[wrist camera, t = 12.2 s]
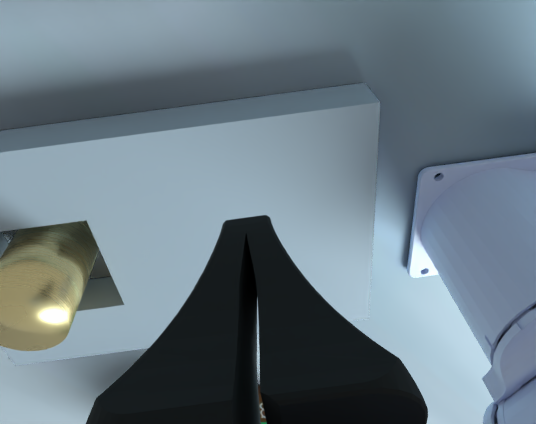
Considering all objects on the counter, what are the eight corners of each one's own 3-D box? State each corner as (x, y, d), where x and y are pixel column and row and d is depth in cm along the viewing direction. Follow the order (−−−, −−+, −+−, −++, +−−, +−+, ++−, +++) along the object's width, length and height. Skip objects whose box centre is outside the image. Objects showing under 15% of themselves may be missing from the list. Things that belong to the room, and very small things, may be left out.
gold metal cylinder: (92, 206, 23) (55, 286, 18) (107, 264, 25) (79, 348, 21) (10, 208, 23) (-49, 290, 18) (34, 266, 25) (-12, 353, 20)
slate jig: (364, 82, 20) (380, 102, 18) (359, 289, 28) (369, 318, 26) (-98, 143, 20) (-135, 170, 18) (30, 333, 28) (15, 365, 26)
